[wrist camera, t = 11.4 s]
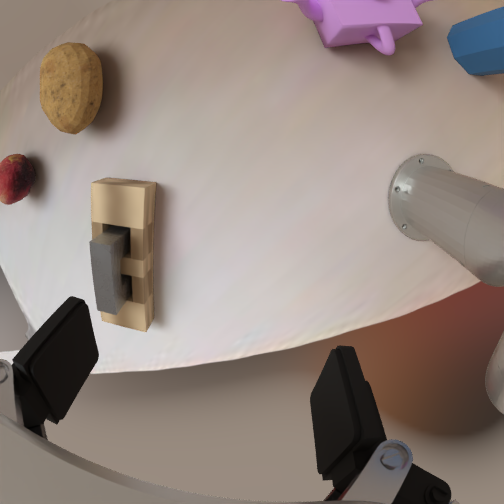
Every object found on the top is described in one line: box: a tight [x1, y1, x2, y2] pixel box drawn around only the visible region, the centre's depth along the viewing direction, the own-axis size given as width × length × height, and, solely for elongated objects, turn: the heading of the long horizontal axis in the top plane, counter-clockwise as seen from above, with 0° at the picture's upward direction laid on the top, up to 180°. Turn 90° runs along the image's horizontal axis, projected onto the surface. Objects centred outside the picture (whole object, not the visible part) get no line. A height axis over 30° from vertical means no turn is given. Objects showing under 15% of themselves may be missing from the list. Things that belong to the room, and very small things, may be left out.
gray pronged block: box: [90, 225, 133, 315], centre depth 35 cm, size 10×3×8 cm, turn 171°
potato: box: [40, 42, 103, 135], centre depth 26 cm, size 10×14×8 cm
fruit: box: [0, 154, 36, 205], centre depth 31 cm, size 8×8×8 cm
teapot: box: [281, 0, 431, 55], centre depth 20 cm, size 15×13×11 cm
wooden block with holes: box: [91, 178, 156, 332], centre depth 37 cm, size 8×22×4 cm, turn 171°
